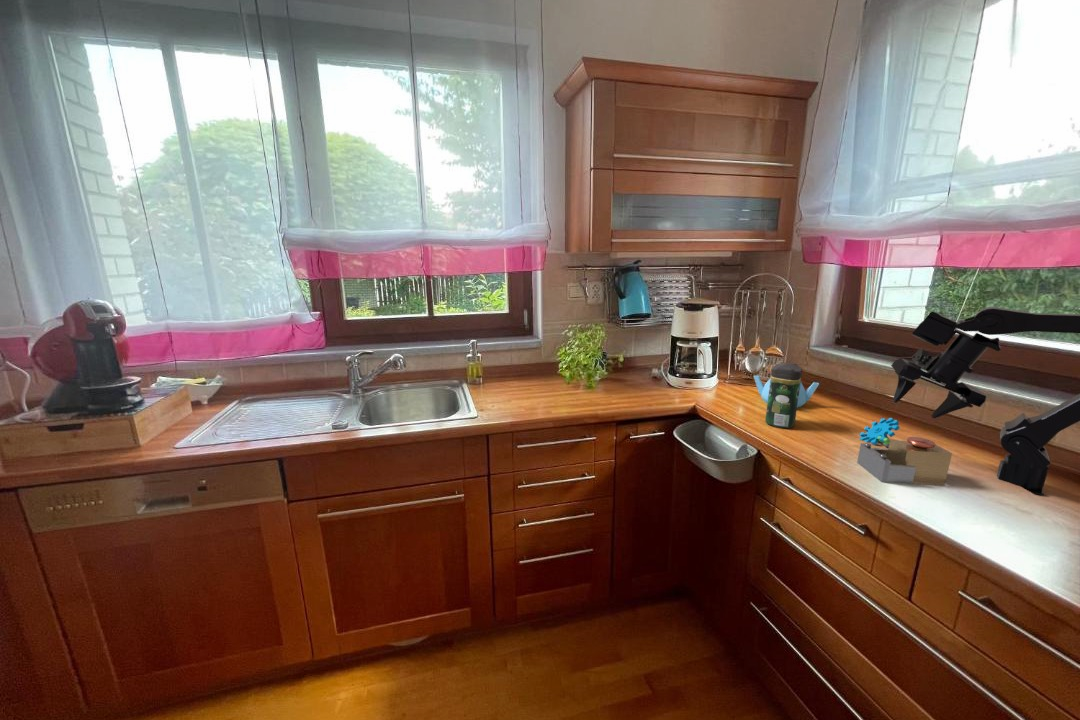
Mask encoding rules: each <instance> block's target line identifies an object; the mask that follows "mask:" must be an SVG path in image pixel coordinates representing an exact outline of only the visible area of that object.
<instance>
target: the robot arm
mask: <svg viewBox="0 0 1080 720" xmlns="http://www.w3.org/2000/svg"><path fill="white" fill-rule="evenodd" d="M967 332H975V333H974V334H969V333H967ZM1027 332H1028V333H1029V332H1039V333H1040V332H1042V333H1044V332H1046V333H1067V334H1080V314H1078V313H1077V314H1075V313H1071V314H1070V313H1044V312H1041V313H1039V312H1037V313H1036V312H1029V311H1023V310H1018V309H1011V308H1005V307H999V306H989V307H988V306H987V307H983V308H981V309H980V310H979V311H977V312H976V314H975V315H974V316H970V317H967V318H964V319H963V318H962V319H961V320H957V321H956V320H953V319H951V318H949V317H946V316H945V315H941V314H940V313H939V312H937V311H935V310H931V311H930V312H929V313H928V315H927V316H926V317H925V319H924V320H923V321H921V322H920V323H919V324H918V326H917V327H916V328H915V329H914V331H913V332H912V334H911V336H913V337H916V339H917V338H918V339H920V340H922V341H924V342H926V343H928V344H931V345H932V346H935V347H938V346H939V345H941V346H942V345H943V346H946V345H947V344H948V343H949V342H950V341H951V340H952V338H953V337H954V336H955V335H956V334H957V336H956V338H955V339H954V340H953V341H952V342H951V343H950V345H949V346H948V347H947V348H946V349H945V350H944V352H941V351H940V352H938V353H937V354H936V355H935V356H931V355H930V354H931V353H930V352H929V351H927V350H924V349H921V348H920V349H918V350H917V351H916V352H914V354H913V356H912V357H911V361H909V360H907V359H904V358H902V357H900V358H897V359H895V360H894V361H893V362H892V363H891V365H890V367H892V369H893V370H894V372H895V373H894V374H896V375H897V377H898V380H897V386H896V389H895V393H894V395H893V396H894V397H893V399H892V401H893V402H894V403H895V404H896V403H898V402H899V401H901V400H902V399H903V398H904V397H905V395H907V393H908V392H910V391H911V389H913V387H915V385H916V384H917V383H916V382H915V380H919V379H920V380H924V381H925V382H928V383H930V384H933V385H935V386H938V387H941V388H943V389H946V390H948V393H947V396H946V398H945V400H943V401H942V403H941V404H940V405H939V406H938V407H937V408H936V409H935V410H934V411H933V412H932V414H931V415H930V417H931V418H932V419H935V420H936V419H937V418H939V417H942V416H945V415H947V414H950V413H952V412H955V411H957V410H958V411H959V410H962V409H964V408H973V407H974V406H975V407H978V408H981V407H983V405H984V404H985V403H986V401H987V395H986V394H985V393H983V392H982V391H981V390H980V389H978V387H976V386H973V385H971V384H968V383H965V382H963V381H960V379H962V377H963V376H964V375H965V374H966V373H968V374H971V373H972V372H973V371H974V369H973V368H972V366H973V365H974V364H975V363H976V362H978V360H979V358H981V356H982V355H984V353H985V352H986V351H987V350H988V348H989V349H991V350H994V351H996V352H1000V351H1001V350H1002V349H1001V345H1000V338H999V337H995V338H994V337H993V338H990V337H988V336H994V335H996V336H997V335H1007V334H1008V335H1009V334H1019V333H1027ZM982 334H983V335H982ZM985 335H988V336H985ZM912 361H913V362H912ZM914 362H915V363H914ZM916 363H917V364H916ZM959 381H960V382H959ZM1079 422H1080V393H1078V394H1076V395H1074V396H1073V397H1071V398H1069V399H1067V400H1066V401H1063V402H1061V403H1060V404H1058V405H1056V406H1053V408H1051V409H1049V410H1047V411H1045V412H1043V413H1041V414H1038V415H1033V416H1030V417H1029V416H1027V414H1026V413H1025V412H1022V413H1021V414H1020V413H1019V415H1018V416H1016V417H1015V418H1014V419H1012V420H1010V421H1004V426H1003V427H1002V428H1001V430H1000V432H999V433H1000V435H999V439H1000V445H1001V448H1003V450H1005V452H1007V453H1008V454H1005V456H1004V459H1003V460H999V463H998V467H997V468H998V469H997V472H996V477H997V479H998V480H999V481H1002V482H1005V483H1009V484H1011V485H1014V486H1017V487H1020V488H1022V489H1024V490H1026V491H1028V492H1030V493H1031V494H1034V495H1039V496H1045V492H1044V490H1043V489H1044V485H1045V482H1046V478H1047V475H1048V472H1049V468H1050V466H1049V465H1050V464H1051V460H1050V457H1049V454H1048V450H1047V449H1046V448H1045V447H1044V446H1046V445H1047V444H1048V443H1050V442H1051V440H1053V438H1055V436H1056V435H1058V434H1059V433H1060V432H1061V431H1064V430H1065V429H1068V428H1069V427H1070V426H1073V425H1075V424H1077V423H1079Z"/></svg>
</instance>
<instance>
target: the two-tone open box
mask: <svg viewBox="0 0 1080 720" xmlns="http://www.w3.org/2000/svg"><path fill="white" fill-rule="evenodd" d="M879 448H880V447H872V443H871V444H870V443H867V442H865V443H860V445H859V451H858V457H857V463H856V464H857V465H859V466H860V467H861V468H863V469H864V470H865V471H867V472H868V473H869V474H870V475H871V476H872V477H874V478H876V479H877V480H878V481H879V482H881V483H888V484H890V483H891V484H902V485H903V484H904V485H917V486H919V485H920V486H930V487H931V486H932V487H946V488H952V486H951V485H949V484H948V483H946V482H945V483H941V482H927V481H913V479H914V474H915V470H916V467H915V466H909V465H893V464H891V461H890V460H888V459H887V453H888V448H880V449H879Z"/></svg>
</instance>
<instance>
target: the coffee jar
mask: <svg viewBox="0 0 1080 720" xmlns="http://www.w3.org/2000/svg"><path fill="white" fill-rule="evenodd" d="M802 374H803V369H802V367H801V366H799V365H798V364H797V363H793V362H786V361H785V362H784V361H783V362H780V363H777V364H774V365H773V367H772V368H771V373H770V378H771V379H770V378H769V379H770V387H769V395H768V403H766V404H767V405H766V413H765V419H764V420H765V421H764V422H765V423H766V424H767V425H770V426H772V427H775V428H779V429H785V428H786V429H790V428H792V427H793V426H794V425H795V423H796V418H797V417H796V416H797V409H798V408H797V403H798V397H799V390H800V383H802Z"/></svg>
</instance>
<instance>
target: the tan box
mask: <svg viewBox="0 0 1080 720" xmlns="http://www.w3.org/2000/svg"><path fill="white" fill-rule="evenodd" d="M889 440H890V443H889V447H887V449H888V453H887V459H888V460H890V461H891V464H893V465H909V466H915V467H916V470H915V474H914V479H913V481H927V482H941V483H946V481H947V477H948V472H949V469H950V465H951V460H952V455H953V453H952V452H951V451H949V450H947V449H944V447H942V446H940V445H938V444H936V443H935V442H934V441H933V440H930V439H928V438H923V437H920V436H919V437H918V436H909V437H907V440H899V439H898V440H897V439H896V440H895V439H889Z"/></svg>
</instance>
